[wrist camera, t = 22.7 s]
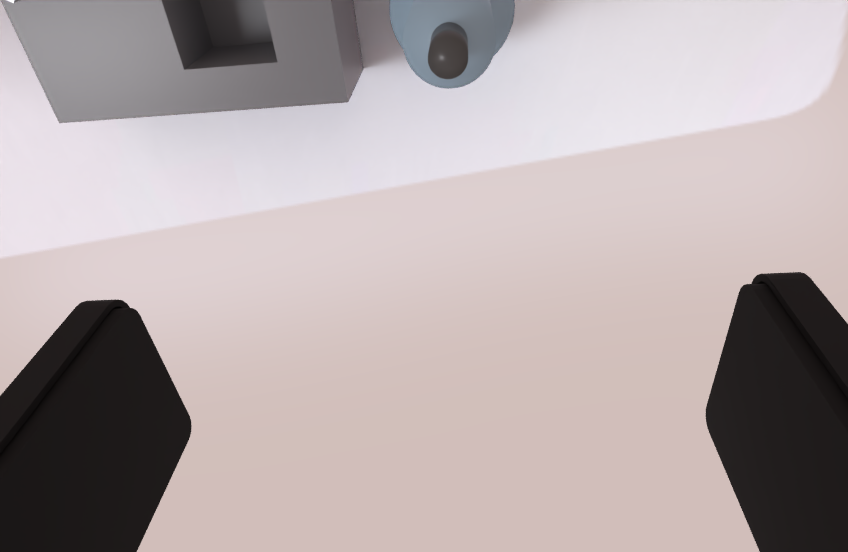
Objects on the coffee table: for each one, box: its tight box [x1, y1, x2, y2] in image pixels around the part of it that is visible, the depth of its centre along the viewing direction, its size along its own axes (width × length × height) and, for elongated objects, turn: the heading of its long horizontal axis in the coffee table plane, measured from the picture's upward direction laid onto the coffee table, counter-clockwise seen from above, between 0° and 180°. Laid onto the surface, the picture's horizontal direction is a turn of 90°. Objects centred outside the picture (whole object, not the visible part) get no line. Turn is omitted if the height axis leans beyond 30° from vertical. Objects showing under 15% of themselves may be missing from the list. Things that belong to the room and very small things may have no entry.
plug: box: [390, 0, 515, 88], centre depth 28 cm, size 6×6×14 cm
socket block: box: [1, 0, 363, 123], centre depth 32 cm, size 17×10×7 cm, turn 95°
